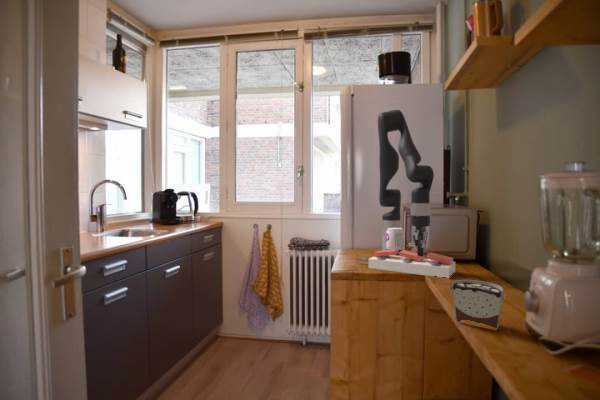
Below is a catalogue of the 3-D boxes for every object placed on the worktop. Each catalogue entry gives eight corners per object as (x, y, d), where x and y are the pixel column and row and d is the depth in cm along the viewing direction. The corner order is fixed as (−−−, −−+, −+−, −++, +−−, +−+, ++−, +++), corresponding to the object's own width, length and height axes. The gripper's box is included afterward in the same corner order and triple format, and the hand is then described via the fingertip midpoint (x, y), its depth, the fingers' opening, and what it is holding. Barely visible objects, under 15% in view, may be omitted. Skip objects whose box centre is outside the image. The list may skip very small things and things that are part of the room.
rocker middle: (403, 253, 149) (403, 249, 149) (424, 258, 144) (424, 255, 144) (398, 255, 144) (399, 252, 144) (420, 261, 139) (420, 257, 139)
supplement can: (385, 261, 160) (385, 229, 160) (387, 257, 168) (387, 227, 168) (404, 262, 158) (403, 229, 157) (404, 258, 166) (404, 227, 165)
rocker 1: (379, 254, 155) (378, 250, 155) (398, 252, 150) (398, 249, 150) (374, 256, 150) (373, 253, 150) (394, 255, 145) (393, 251, 145)
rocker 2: (429, 255, 143) (430, 252, 143) (452, 261, 138) (453, 257, 138) (425, 258, 138) (426, 254, 138) (449, 264, 133) (450, 260, 133)
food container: (510, 325, 85) (510, 285, 84) (504, 333, 80) (505, 290, 80) (457, 313, 93) (457, 276, 93) (449, 320, 88) (449, 281, 88)
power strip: (362, 261, 162) (362, 250, 161) (455, 271, 139) (455, 259, 139) (351, 266, 152) (351, 254, 152) (448, 278, 129) (448, 265, 129)
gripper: (415, 213, 149) (415, 253, 150) (406, 215, 138) (406, 258, 139) (433, 213, 145) (434, 254, 145) (425, 215, 134) (425, 260, 134)
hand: (420, 256), depth 142 cm, fingers closed
